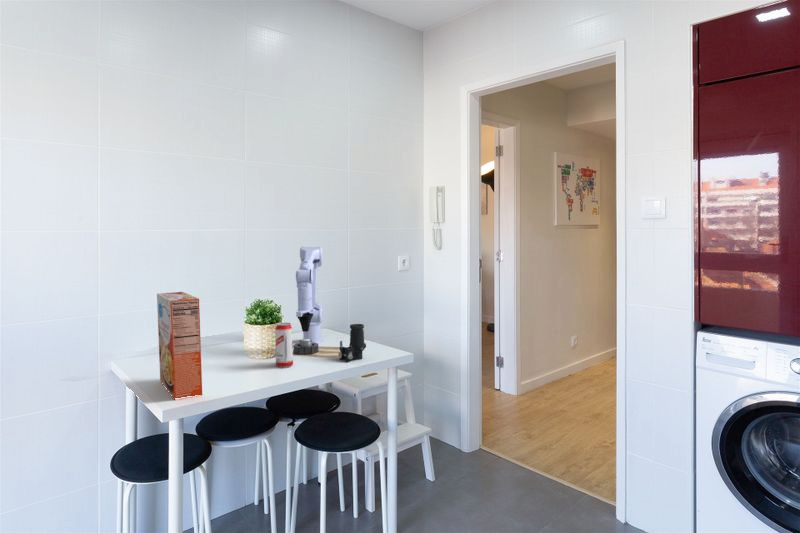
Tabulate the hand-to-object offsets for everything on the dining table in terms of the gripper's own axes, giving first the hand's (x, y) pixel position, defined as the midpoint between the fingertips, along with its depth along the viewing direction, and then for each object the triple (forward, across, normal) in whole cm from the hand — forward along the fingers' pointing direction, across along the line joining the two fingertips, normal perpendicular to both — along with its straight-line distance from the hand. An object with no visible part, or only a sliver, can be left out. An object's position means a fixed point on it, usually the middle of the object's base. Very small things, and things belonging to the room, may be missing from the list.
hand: (305, 331), depth 207 cm
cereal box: (+10, -51, +24) cm, 57 cm away
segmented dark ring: (+9, 0, 0) cm, 9 cm away
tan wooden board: (+9, +2, -6) cm, 11 cm away
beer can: (+10, -20, +1) cm, 22 cm away
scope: (+10, -8, -23) cm, 26 cm away
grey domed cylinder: (+9, 0, 0) cm, 9 cm away
